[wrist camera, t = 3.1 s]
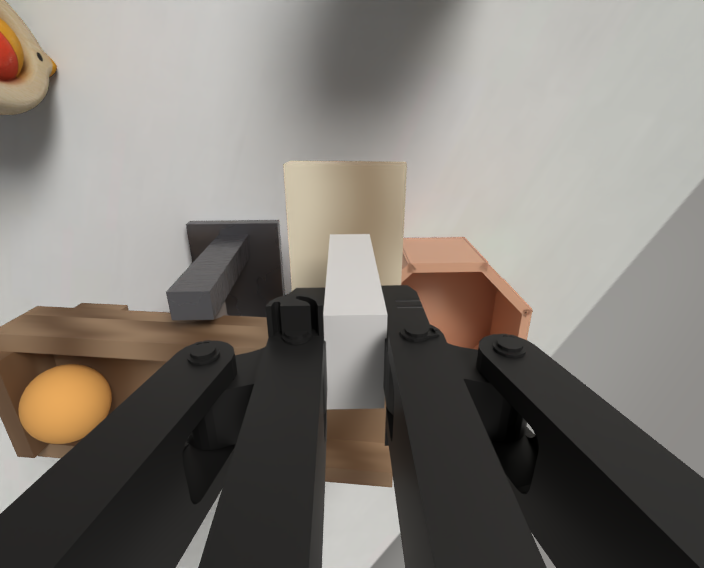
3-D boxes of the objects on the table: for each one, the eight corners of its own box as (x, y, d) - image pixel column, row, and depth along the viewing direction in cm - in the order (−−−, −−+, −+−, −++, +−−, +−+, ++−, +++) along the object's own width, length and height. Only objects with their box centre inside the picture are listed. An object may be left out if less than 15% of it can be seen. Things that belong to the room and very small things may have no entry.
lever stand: (217, 389, 34) (172, 496, 25) (190, 221, 28) (118, 277, 19) (291, 387, 34) (274, 493, 25) (279, 220, 28) (251, 275, 19)
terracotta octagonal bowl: (319, 310, 31) (316, 346, 27) (433, 203, 28) (451, 223, 24) (419, 394, 35) (431, 439, 30) (530, 307, 32) (562, 341, 27)
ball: (56, 373, 24) (-15, 420, 20) (84, 336, 22) (12, 381, 19) (109, 419, 25) (49, 473, 21) (140, 387, 23) (81, 439, 19)
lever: (103, 400, 29) (26, 476, 23) (28, 151, 22) (-107, 168, 16) (393, 421, 27) (391, 511, 21) (405, 154, 20) (407, 175, 14)
